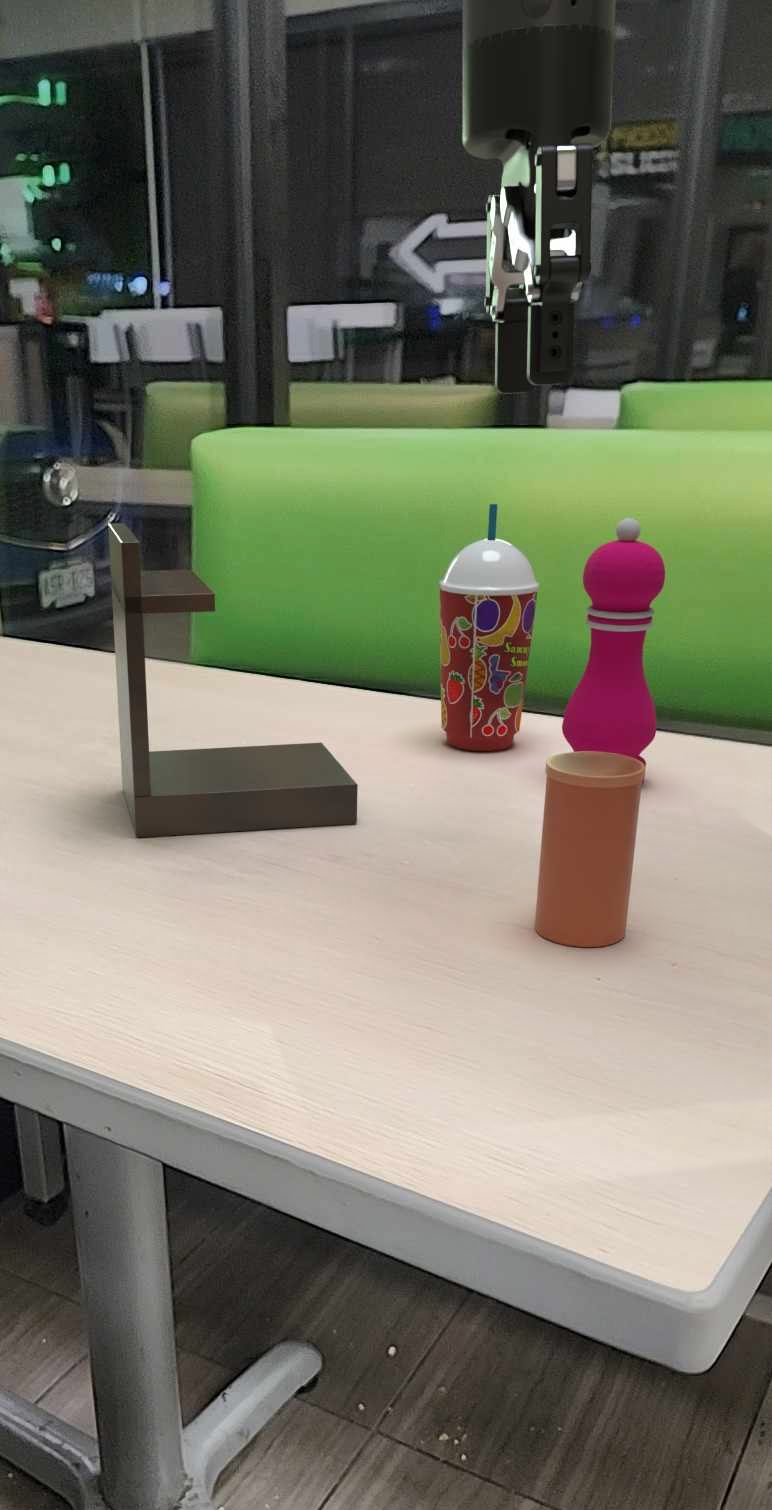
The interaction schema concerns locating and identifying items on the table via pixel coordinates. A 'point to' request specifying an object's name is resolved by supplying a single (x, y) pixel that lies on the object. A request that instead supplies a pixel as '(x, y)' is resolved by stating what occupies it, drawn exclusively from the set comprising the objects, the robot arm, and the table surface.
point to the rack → (211, 780)
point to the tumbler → (587, 847)
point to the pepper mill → (617, 649)
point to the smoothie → (485, 642)
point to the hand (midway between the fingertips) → (531, 389)
